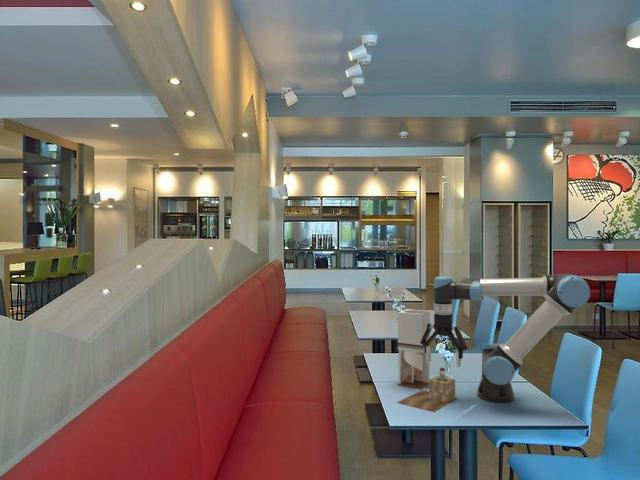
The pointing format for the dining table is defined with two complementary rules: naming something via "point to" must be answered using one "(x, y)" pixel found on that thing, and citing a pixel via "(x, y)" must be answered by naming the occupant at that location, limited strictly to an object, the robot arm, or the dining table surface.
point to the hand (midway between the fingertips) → (443, 363)
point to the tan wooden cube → (442, 389)
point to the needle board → (425, 399)
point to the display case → (413, 348)
